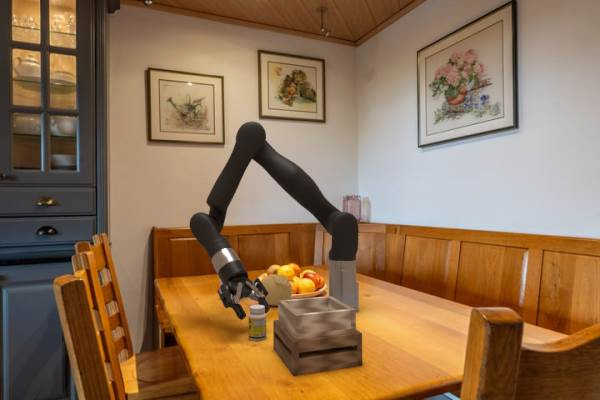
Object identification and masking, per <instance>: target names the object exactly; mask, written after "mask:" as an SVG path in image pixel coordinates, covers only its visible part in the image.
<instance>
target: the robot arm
mask: <svg viewBox="0 0 600 400" xmlns="http://www.w3.org/2000/svg"><path fill="white" fill-rule="evenodd" d="M251 161H254V162H256V164H258V165H259V166H260V167H261V168H262V169H264V171H266V173H267V174H268V175H269V176H270V177H271V178H272V179H273V181H275V182H276V184H278V185H279V186H280V187H281V189H283V191H284V192H285V193H287V194H288V196H290V197H291V198H292V200H295V202H297V203H298V205H300V206H301V207H302V208H304V209H305V210H306V211H307V212H308V213H310V214H311V215H312V216H313V217H314V218H315V219H316V220H317V221H318V222H319V223H320V225H321V226H322V227H323V228H324V229H325V231H326V232H327V233H328V234H329V235H330V236H331V246H330V248H329V251H328V296H331V297H333V298H335V299H337V300H339V301H341V302H342V303H344V304H346V305H348V306H350V307H351V308H353V309H355V310H356V312H359V311H360V310H359V309H360V306H359V303H360V302H359V300H360V299H359V289H360V288H359V287H360V286H359V282H357V253H358V250H359V232H360V231H359V222H358V220H357V217H356V216H355V215H354V214H352V213H351V212H346V211H341V210H340V209H338V208H337V207H336V206H335V205H334V204H332V203H331V202H330V201H329V200H328V198H326V196H325V195H324V193H322V191H321V189H320V187H319V186H318V185H317V183H316V181H315V180H314V179H313V178H312V177H311V176H310V175H309V174H308V173H307V172H306V171H305V170H304V169H303V168H301V167H300V166H299V165H298V164H297V163H295V162H293V161H292V160H291V159H289V158H287V157H285V156H284V155H282V154H280V153H279V152H278V151H277V150H276V149H275V148H274V147H273V146H272V145H271V144H270V143H269V142H268V141H267V133H266V129H265V128H264V126H263V125H262V124H261V123H259V122H257V121H246V122H244V123H243V124H242V125H240V126H239V128H238V130H237V132H236V134H235V143H234V146H233V149H232V151H231V153H230V156H229V158H228V160H227V162H226V163H225V165H224V167H223V169H222V170H221V172H220V174H219V175H218V177H217V179H216V180H215V183H214V184H213V186H212V188H211V190H210V192H209V193H208V196H207V198H206V201H205V202H206V205H208V207H209V210H208V213H206V212H204V211H203V212H202V211H200V212H196V213H194V214H193V215H192V216H191V218H190V220H189V230H190V232H191V234H192V235H193V237H194V238H195V239H196V241H197V242H198V243H199V244H200V245H201V247H203V249H204V250H205V252H206V253H207V256H208V258H209V259H210V261H211V263H212V265H213V268H214V270H215V272H216V274H217V276H218V278H219V279H220V280H221V281H222V283H223V284H222V285H221V286H220V285H219V288H218V289H217V293H218V295H219V299H220V298H221V300H220V301H221V302H222V305H223V307H224V308H225V309H229V308H230V309H232V310H233V311H234V313H235V315H236V317H237V318H238V319H239V320H240V321H243V320H244V319H245V318H246V317H247V313H246V312H245V309H244V307H243V306H242V305H241V303H240V301H239V299H241V300H242V298H243V299H248V298H249V299H251V300H255V302H257V303H258V305H263V306H265V312H264V313H265V314H267V313H268V312H269V311H270V309H271V307H270V306H271V305H269V304H268V303H267V301H266V299H265V297H266V296H267V295H268V291H267V290H266V288H265V287H264V285H263V284H262V281H261V279H260V278H258V277H256V278H255V279H253V280H251V279H250V278H249V274H248V271H247V269H246V267H245V265H244V264H243V262H242V261H241V259H240V257H239V256H238V254H237V253H236V252H235V250H234V248H233V247H232V245H231V243H230V242H229V240H228V238H226V236H224V235H223V234H221V232H222V230H223V228H224V225H225V221H226V217H227V213H228V208H229V206H230V204H231V202H232V200H233V199H234V196H235V194H236V192H237V190H238V188H239V186H240V183H241V181H242V178H243V177H244V174H245V173H246V171H247V169H248V167H249V165H250V164H251ZM220 280H219V281H220ZM262 291H263V293H262ZM228 292H229V293H231V294H232V298H231V297H230V295H229V293H228ZM259 296H260V297H259Z"/></svg>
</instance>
